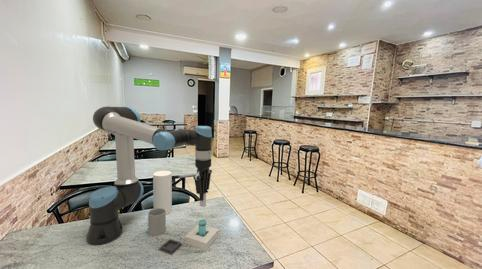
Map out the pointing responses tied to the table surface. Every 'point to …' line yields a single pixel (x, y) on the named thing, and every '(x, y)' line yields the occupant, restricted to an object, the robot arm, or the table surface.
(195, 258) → the table surface
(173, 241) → the grey square socket
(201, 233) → the plug
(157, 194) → the tall pillar cylinder
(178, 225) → the table surface
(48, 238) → the table surface
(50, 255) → the table surface
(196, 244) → the port
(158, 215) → the mug
